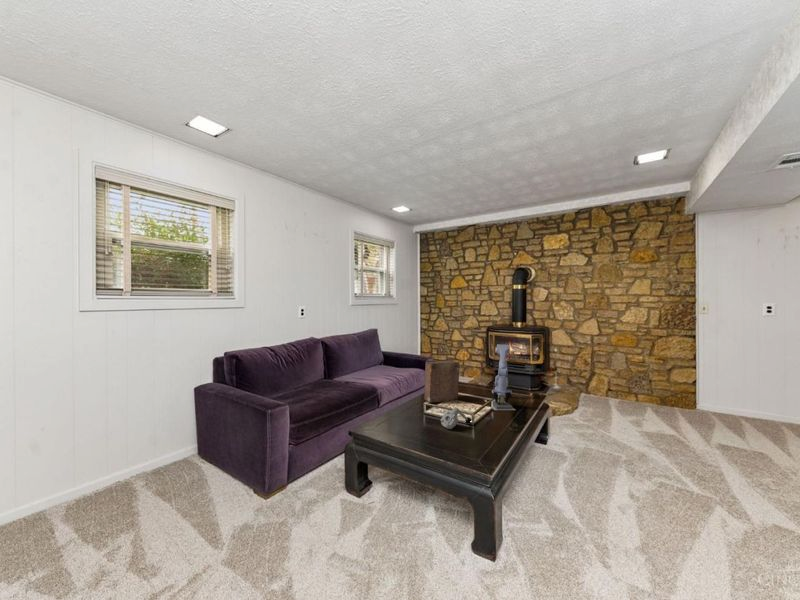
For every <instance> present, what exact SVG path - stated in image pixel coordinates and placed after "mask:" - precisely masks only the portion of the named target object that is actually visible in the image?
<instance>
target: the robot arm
mask: <svg viewBox="0 0 800 600" xmlns="http://www.w3.org/2000/svg"><path fill="white" fill-rule="evenodd" d="M510 349H511V347H510V344H499V343H497V345H496V354H497V355H499V362H498V370H497V371H498V372H497V375H495V378H494V379H495V380H494V386H495V387H494V389H492V390H491V393H492V394H493V397H494V400H495V402H496V403H497V402H498V400H499V395H504V396H505V397H504V401H505V402H506V403H508V402H509V399H510V398H511V396H512V393H513V390H511V389H507V388H508V385H509V378H508V374H509V373H508V372H509V371H508V362H507V360H506V358H507V356H508V355H509V354H510Z"/></svg>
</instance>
